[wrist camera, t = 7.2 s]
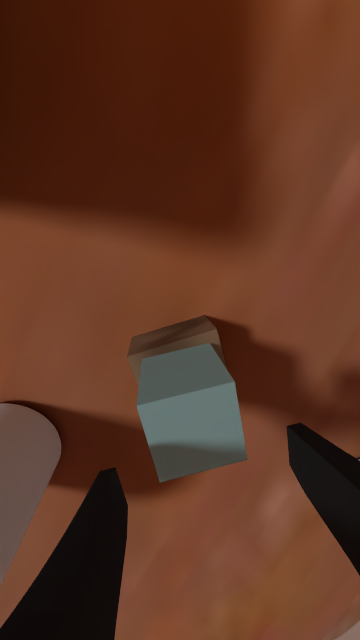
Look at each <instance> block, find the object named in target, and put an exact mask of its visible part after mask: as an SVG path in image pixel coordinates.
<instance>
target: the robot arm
mask: <svg viewBox="0 0 360 640" xmlns="http://www.w3.org/2000/svg"><path fill="white" fill-rule="evenodd" d="M287 436H288V449H289V462H290V466H291V468H292V470H293V472H294V474H295V476H296V478H297V480H298V481H299V483H300V485H301V487H302V489H303V490H304V492H305V494H306V495H307V497H308V498H309V500H310V501H311V503H312V504H313V506H314V507H315V509H316V510H317V512H318V513H319V515H320V516H321V518H322V519H323V521H324V522H325V524H326V525H327V527H328V528H329V530H330V531H331V533H332V534H333V535H334V537H335V538H336V540H337V541H338V543H339V544H340V546H341V547H342V549H343V550H344V552H345V553H346V555H347V556H348V558H349V559H350V561H351V562H352V564H353V566H354V567H355V569H356V570H357V572H358V573H359V575H360V459H356V458H354V457H353V456H351V455H350V454H348V453H346V452H345V451H343V450H342V449H340V448H338V447H337V446H335V445H334V444H332V443H331V442H329V441H328V440H326V439H325V438H323V437H322V436H320V435H319V434H317V433H316V432H314V431H313V430H311V429H310V428H308V427H306V426H305V425H303V424H302V423H298V424H293V425H289V426H287ZM127 517H128V504H127V501H126V498H125V495H124V492H123V489H122V486H121V483H120V480H119V477H118V474H117V471H116V468H111V469H107V470H103V471H100V472H99V474H98V475H97V477H96V479H95V481H94V482H93V484H92V486H91V488H90V490H89V492H88V493H87V495H86V497H85V499H84V501H83V502H82V504H81V506H80V508H79V509H78V511H77V513H76V515H75V516H74V518H73V520H72V521H71V523H70V525H69V526H68V528H67V530H66V532H65V533H64V535H63V537H62V538H61V540H60V541H59V543H58V545H57V546H56V548H55V549H54V551H53V553H52V554H51V556H50V557H49V559H48V560H47V562H46V564H45V565H44V567H43V568H42V570H41V571H40V573H39V574H38V576H37V577H36V579H35V580H34V582H33V583H32V585H31V586H30V588H29V589H28V591H27V592H26V593H25V595H24V596H23V598H22V599H21V601H20V602H19V603H18V605H17V606H16V608H15V609H14V610H13V612H12V613H11V615H10V616H9V617H8V619H7V620H6V621H5V623H4V624H3V625H2V627H1V628H0V640H114V638H115V628H116V619H117V611H118V603H119V596H120V588H121V580H122V572H123V564H124V556H125V548H126V540H127Z"/></svg>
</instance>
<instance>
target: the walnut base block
mask: <svg viewBox="0 0 360 640" xmlns="http://www.w3.org/2000/svg"><path fill="white" fill-rule="evenodd" d="M207 343H210V344H211V346H212V347H213V349H214V350H215V352H216V353H217V355H218V357H219V358H220V360H221V361H222V363H223V364H224V366H225V367H226V363H225V359H224V355H223V351H222V348H221V344H220V340H219V336H218V332H217V329H216V328H215V326H214V325H213V324H212V323H211V322H210V321H209V320H208V318H207V317H206V316H205V315H203V316H200V317H197V318H193V319H190V320H187V321H184V322H180V323H177V324H174V325H171V326H167V327H164V328H161V329H158V330H154V331H151V332H148V333H145V334H141V335H138V336H135V337H132V340H131V344H130V348H129V351H128V355H127V358H128V360H129V363H130V366H131V368H132V371H133V374H134V376H135V379H136V381H137V384H138V387H139V380H140V371H141V363H142V359H144V358H148V357H152V356H157V355H161V354H165V353H169V352H173V351H178V350H182V349H186V348H190V347H194V346H199V345H203V344H207ZM226 369H227V367H226Z"/></svg>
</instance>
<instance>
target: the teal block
mask: <svg viewBox="0 0 360 640" xmlns="http://www.w3.org/2000/svg"><path fill="white" fill-rule="evenodd" d="M137 409H138V412H139V416H140V419H141V422H142V426H143V429H144V432H145V435H146V439H147V442H148V445H149V449H150V452H151V455H152V459H153V462H154V465H155V468H156V472H157V475H158V478H159V482H164V481H168V480H172V479H176V478H179V477H183V476H187V475H191V474H195V473H198V472H202V471H206V470H210V469H214V468H217V467H221V466H225V465H229V464H233V463H236V462H240V461H244V460H247V454H246V448H245V442H244V436H243V429H242V423H241V417H240V411H239V405H238V399H237V393H236V387H235V381H234V380H233V378H232V377H231V375H230V374H229V372H228V370H227V369H226V367H225V366H224V364H223V363H222V361H221V360H220V358H219V357H218V355H217V353H216V352H215V350H214V349H213V347H212V346H211V344H210V343H207V344H203V345H199V346H194V347H190V348H186V349H182V350H178V351H173V352H169V353H165V354H161V355H157V356H152V357H148V358H144V359H142V363H141V371H140V380H139V389H138V398H137Z"/></svg>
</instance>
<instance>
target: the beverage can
mask: <svg viewBox="0 0 360 640" xmlns="http://www.w3.org/2000/svg"><path fill="white" fill-rule="evenodd" d="M60 456H61V440H60V437H59V434H58V432H57V430H56V429H55V427H54V426H53V424H52V423H51V422H50V421H49V420H48V419H47V418H46V417H44V416H43V415H42V414H40V413H38V412H37V411H35V410H33V409H30V408H28V407H25V406H21V405H17V404H8V403H0V587H1V585H2V582H3V580H4V578H5V576H6V574H7V572H8V570H9V567H10V565H11V563H12V561H13V559H14V557H15V554H16V552H17V550H18V548H19V546H20V544H21V542H22V539H23V537H24V535H25V533H26V531H27V529H28V526H29V524H30V522H31V520H32V518H33V516H34V513H35V511H36V509H37V507H38V505H39V503H40V501H41V498H42V496H43V494H44V492H45V490H46V488H47V485H48V483H49V481H50V479H51V477H52V475H53V472H54V470H55V468H56V466H57V464H58V462H59V459H60Z"/></svg>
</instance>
